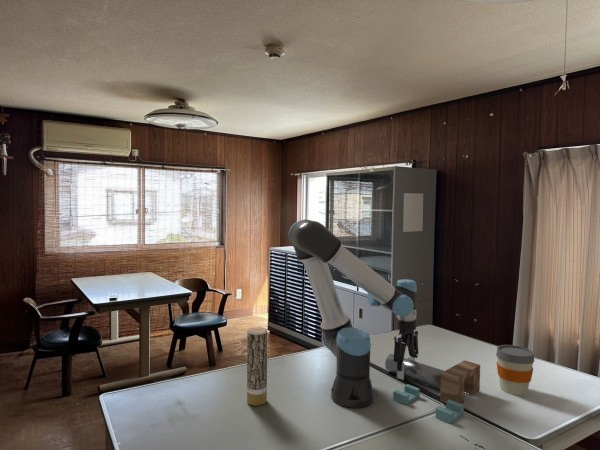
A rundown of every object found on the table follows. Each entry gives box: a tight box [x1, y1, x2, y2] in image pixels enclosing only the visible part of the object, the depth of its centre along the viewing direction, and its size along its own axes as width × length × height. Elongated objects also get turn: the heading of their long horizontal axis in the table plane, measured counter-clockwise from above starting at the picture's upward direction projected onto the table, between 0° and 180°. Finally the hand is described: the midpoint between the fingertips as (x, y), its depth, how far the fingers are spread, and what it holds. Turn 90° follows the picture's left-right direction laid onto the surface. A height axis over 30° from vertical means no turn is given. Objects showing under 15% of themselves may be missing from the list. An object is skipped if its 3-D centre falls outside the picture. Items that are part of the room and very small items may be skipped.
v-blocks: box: [392, 384, 465, 424], centre depth 138 cm, size 9×21×3 cm, turn 43°
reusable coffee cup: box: [495, 344, 535, 397], centre depth 151 cm, size 13×13×15 cm
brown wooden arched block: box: [439, 360, 481, 405], centre depth 145 cm, size 18×6×10 cm, turn 133°
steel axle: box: [384, 353, 445, 391], centre depth 159 cm, size 24×7×7 cm, turn 43°
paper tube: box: [246, 326, 268, 407], centre depth 139 cm, size 7×7×25 cm
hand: (406, 375), depth 162 cm, fingers closed on steel axle, 7 cm apart
